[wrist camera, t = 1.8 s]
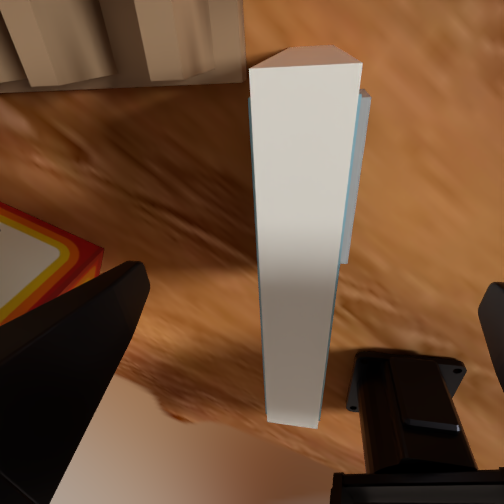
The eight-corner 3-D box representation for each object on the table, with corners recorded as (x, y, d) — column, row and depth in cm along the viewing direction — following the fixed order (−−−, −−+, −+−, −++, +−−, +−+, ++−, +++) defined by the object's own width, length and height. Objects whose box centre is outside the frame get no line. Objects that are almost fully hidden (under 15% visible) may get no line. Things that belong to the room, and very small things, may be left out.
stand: (344, 240, 16) (347, 263, 15) (263, 237, 17) (257, 259, 15) (364, 88, 12) (371, 97, 11) (257, 92, 13) (248, 101, 11)
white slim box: (317, 261, 17) (318, 428, 10) (286, 260, 18) (266, 421, 10) (334, 44, 12) (366, 62, 4) (288, 47, 12) (245, 69, 5)
